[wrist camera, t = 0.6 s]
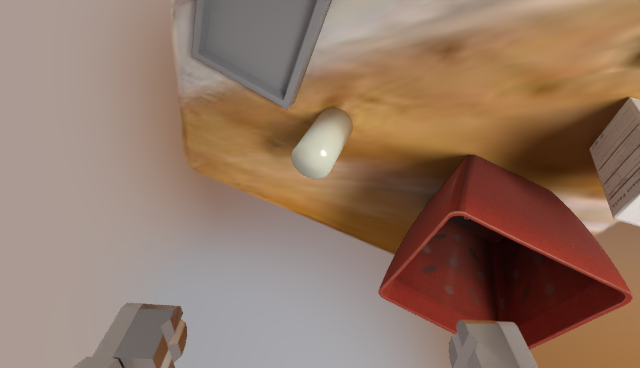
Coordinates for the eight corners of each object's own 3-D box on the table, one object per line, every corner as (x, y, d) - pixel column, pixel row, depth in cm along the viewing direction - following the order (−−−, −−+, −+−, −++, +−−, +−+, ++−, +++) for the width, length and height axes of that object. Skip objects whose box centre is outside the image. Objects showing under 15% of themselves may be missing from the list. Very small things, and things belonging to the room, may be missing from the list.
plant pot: (600, 188, 44) (641, 301, 32) (502, 262, 58) (506, 361, 46) (463, 122, 45) (454, 208, 33) (398, 210, 59) (375, 294, 47)
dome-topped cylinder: (325, 101, 51) (298, 136, 43) (358, 119, 51) (337, 158, 43) (313, 128, 54) (286, 165, 47) (344, 145, 54) (322, 185, 47)
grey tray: (222, -135, 37) (209, -136, 35) (354, -62, 37) (347, -60, 35) (201, 50, 53) (191, 56, 51) (294, 101, 53) (287, 109, 51)
